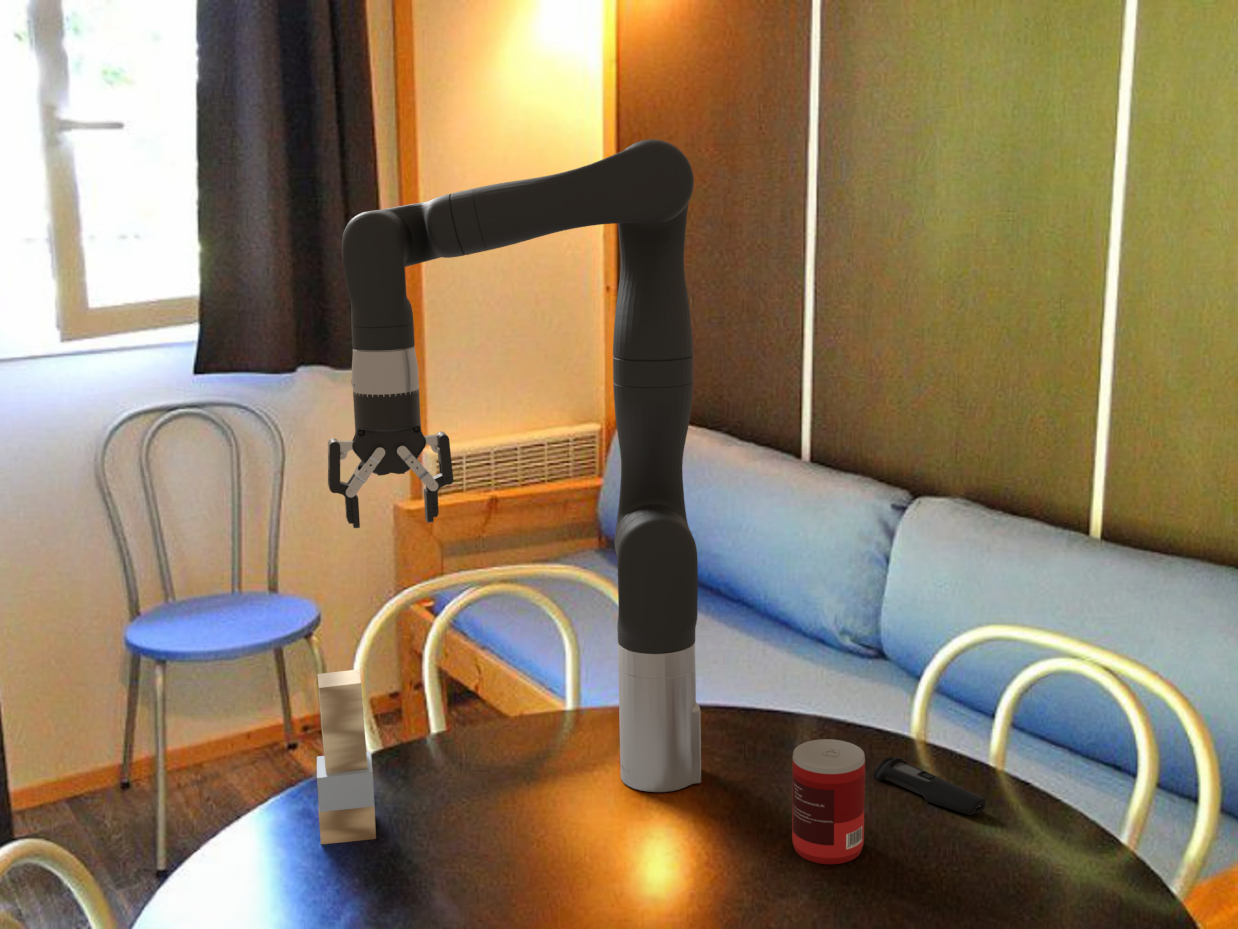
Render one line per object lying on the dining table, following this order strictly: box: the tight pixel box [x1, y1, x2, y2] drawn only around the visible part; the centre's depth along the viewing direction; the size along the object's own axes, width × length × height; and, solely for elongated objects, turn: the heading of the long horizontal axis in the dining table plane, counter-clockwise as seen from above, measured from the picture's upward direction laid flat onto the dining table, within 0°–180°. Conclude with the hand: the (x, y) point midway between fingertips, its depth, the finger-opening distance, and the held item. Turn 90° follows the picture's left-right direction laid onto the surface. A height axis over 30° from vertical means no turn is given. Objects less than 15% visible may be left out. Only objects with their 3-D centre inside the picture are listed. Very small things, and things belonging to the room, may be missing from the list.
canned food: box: [791, 738, 866, 865], centre depth 152 cm, size 8×8×11 cm
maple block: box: [316, 668, 368, 774], centre depth 157 cm, size 4×4×10 cm
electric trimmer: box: [872, 756, 987, 816], centre depth 165 cm, size 4×16×3 cm, turn 35°
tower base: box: [318, 806, 377, 845], centre depth 160 cm, size 6×6×4 cm
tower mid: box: [316, 750, 375, 813], centre depth 159 cm, size 6×6×4 cm
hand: (393, 524), depth 166 cm, fingers open, 8 cm apart
